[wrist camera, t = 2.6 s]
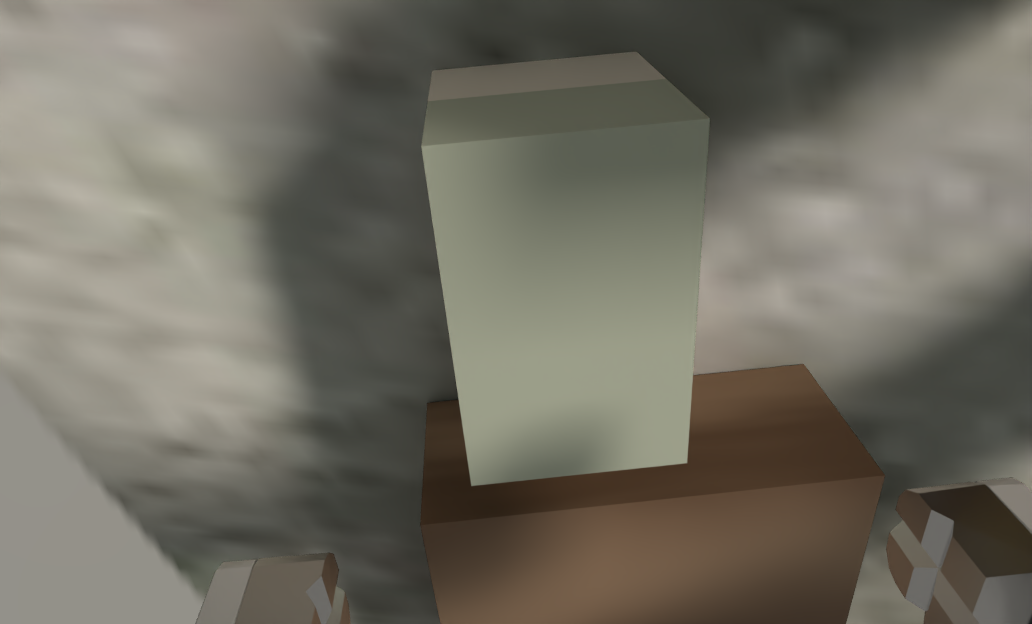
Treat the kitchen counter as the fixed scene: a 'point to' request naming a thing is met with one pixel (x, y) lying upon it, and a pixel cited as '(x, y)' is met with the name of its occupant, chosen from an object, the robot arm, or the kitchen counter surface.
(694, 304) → the block
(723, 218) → the kitchen counter surface
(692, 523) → the walnut stand
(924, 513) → the robot arm
